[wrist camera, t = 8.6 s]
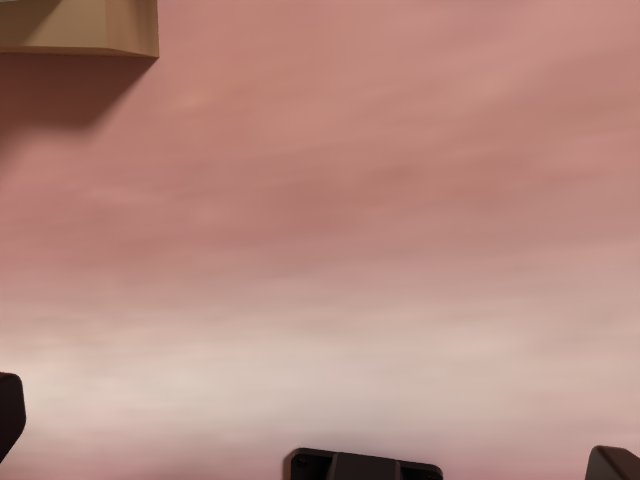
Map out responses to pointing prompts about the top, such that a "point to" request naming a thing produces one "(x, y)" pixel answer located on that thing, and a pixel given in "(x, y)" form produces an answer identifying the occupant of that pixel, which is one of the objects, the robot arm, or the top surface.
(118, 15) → the walnut slab
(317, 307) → the top surface
